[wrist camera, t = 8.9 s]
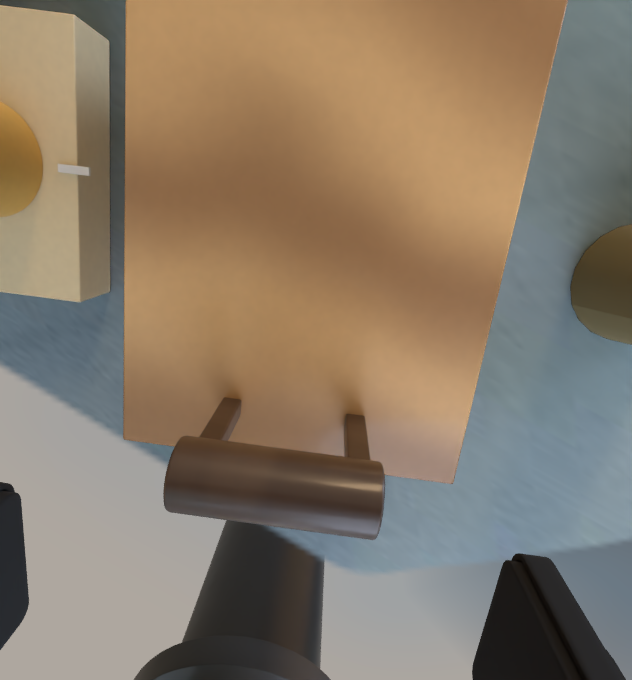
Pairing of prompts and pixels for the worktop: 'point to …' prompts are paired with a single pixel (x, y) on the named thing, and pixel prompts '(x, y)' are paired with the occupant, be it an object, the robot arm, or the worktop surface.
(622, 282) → the cork
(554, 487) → the worktop surface
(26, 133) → the lock knob
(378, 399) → the hinged box cover
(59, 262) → the lock plate
